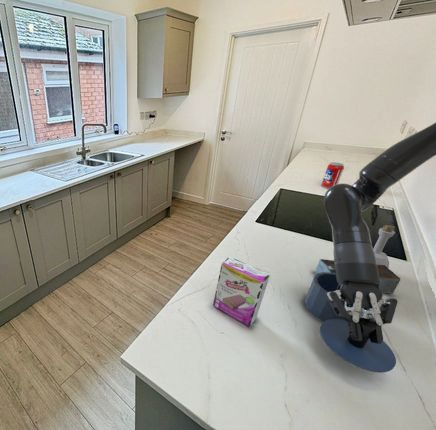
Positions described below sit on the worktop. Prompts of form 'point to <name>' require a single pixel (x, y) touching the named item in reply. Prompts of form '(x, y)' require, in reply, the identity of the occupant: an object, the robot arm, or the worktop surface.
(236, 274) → the candy bar box
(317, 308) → the pot
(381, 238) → the potion bottle
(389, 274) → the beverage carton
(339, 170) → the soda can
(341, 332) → the lid
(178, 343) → the worktop surface
